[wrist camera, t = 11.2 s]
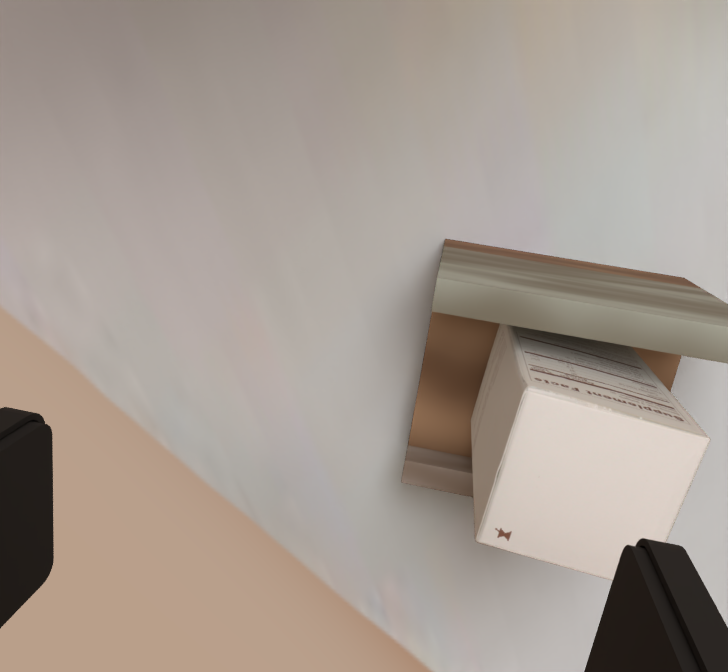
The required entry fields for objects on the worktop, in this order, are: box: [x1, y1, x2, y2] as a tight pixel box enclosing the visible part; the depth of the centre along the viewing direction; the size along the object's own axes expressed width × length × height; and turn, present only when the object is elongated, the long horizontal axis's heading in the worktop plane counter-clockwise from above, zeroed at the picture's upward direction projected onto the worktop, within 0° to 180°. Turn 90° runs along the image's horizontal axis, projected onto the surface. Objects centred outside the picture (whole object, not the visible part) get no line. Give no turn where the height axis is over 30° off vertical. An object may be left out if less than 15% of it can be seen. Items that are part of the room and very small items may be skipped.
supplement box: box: [471, 323, 710, 580], centre depth 31 cm, size 7×7×13 cm
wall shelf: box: [401, 239, 728, 497], centre depth 34 cm, size 14×14×12 cm
